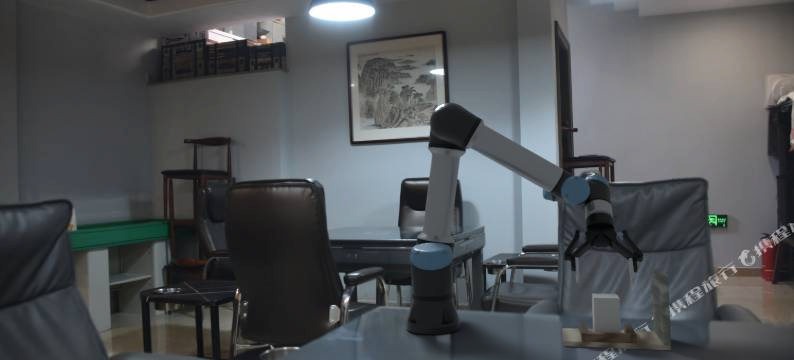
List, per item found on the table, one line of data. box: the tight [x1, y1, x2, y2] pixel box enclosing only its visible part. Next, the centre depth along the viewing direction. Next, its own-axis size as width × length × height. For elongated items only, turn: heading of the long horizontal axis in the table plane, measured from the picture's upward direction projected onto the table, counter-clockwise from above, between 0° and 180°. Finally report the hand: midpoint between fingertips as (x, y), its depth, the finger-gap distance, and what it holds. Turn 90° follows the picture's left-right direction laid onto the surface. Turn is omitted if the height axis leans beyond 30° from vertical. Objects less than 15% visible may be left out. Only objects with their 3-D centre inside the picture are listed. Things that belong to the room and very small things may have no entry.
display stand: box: [561, 268, 672, 351], centre depth 143 cm, size 24×13×17 cm, turn 75°
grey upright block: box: [591, 292, 622, 333], centre depth 143 cm, size 6×6×10 cm
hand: (605, 280), depth 150 cm, fingers open, 13 cm apart
